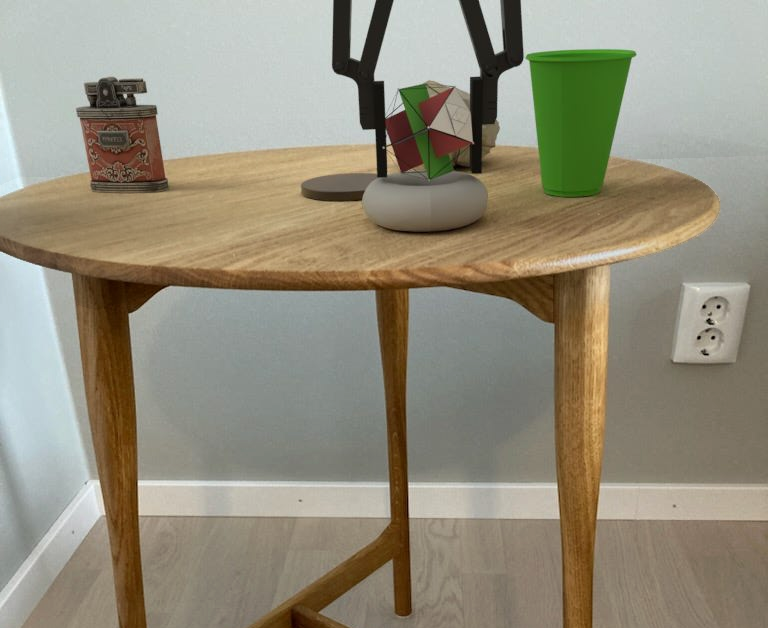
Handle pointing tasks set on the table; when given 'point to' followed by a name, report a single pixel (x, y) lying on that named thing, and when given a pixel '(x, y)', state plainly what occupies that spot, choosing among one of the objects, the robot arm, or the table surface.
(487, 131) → the beige lumpy stone
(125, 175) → the lighter
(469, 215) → the donut
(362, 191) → the walnut coaster
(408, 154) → the geometric puzzle
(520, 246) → the table surface
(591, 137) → the cup
